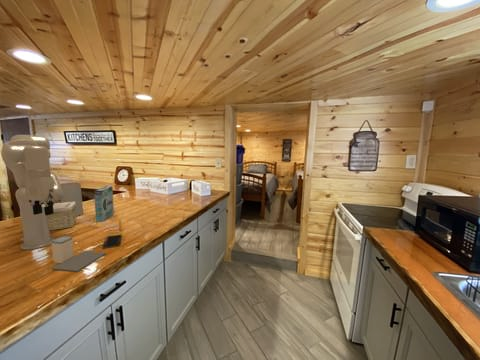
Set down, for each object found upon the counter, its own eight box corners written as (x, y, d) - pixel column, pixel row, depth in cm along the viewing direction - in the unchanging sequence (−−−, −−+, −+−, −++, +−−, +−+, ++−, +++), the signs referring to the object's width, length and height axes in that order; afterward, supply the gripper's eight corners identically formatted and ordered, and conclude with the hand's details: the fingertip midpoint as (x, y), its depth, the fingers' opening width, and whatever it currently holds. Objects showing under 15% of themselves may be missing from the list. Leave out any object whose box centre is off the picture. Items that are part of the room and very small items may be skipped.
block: (53, 262, 88) (51, 241, 86) (64, 256, 93) (62, 236, 91) (63, 263, 87) (61, 241, 86) (74, 257, 92) (72, 237, 91)
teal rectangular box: (107, 214, 157) (105, 186, 154) (114, 213, 158) (112, 185, 155) (95, 222, 138) (93, 190, 135) (103, 221, 139) (101, 190, 136)
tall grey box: (84, 212, 161) (81, 182, 158) (81, 216, 150) (78, 184, 147) (64, 214, 155) (61, 183, 151) (60, 218, 144) (56, 185, 141)
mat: (52, 269, 82) (51, 268, 82) (84, 252, 97) (84, 250, 97) (77, 272, 81) (77, 270, 81) (106, 253, 95) (106, 252, 95)
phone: (102, 247, 100) (106, 236, 113) (102, 249, 100) (106, 238, 113) (119, 244, 104) (122, 234, 117) (120, 246, 104) (122, 236, 117)
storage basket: (21, 235, 114) (18, 211, 112) (31, 226, 128) (29, 205, 126) (74, 228, 127) (71, 206, 125) (78, 220, 141) (76, 201, 139)
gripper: (11, 174, 83) (17, 215, 85) (46, 175, 81) (51, 217, 83) (32, 173, 90) (36, 210, 93) (64, 174, 88) (68, 212, 91)
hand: (43, 213), depth 88 cm, fingers open, 5 cm apart
